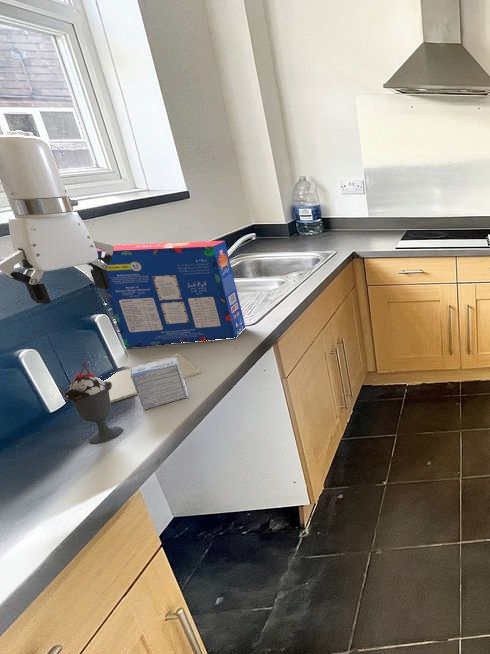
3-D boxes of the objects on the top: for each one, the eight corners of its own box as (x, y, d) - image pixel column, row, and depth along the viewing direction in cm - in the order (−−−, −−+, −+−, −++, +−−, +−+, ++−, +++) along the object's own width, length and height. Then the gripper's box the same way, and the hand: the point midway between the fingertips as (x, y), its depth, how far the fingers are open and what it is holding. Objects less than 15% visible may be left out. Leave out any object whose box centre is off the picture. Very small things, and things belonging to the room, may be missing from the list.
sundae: (120, 421, 85) (95, 355, 80) (134, 431, 82) (109, 364, 77) (76, 438, 80) (47, 369, 75) (89, 450, 76) (59, 379, 71)
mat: (103, 405, 90) (102, 403, 90) (89, 382, 99) (88, 380, 99) (200, 373, 104) (199, 371, 103) (179, 355, 113) (179, 353, 113)
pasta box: (245, 328, 130) (224, 240, 121) (236, 339, 123) (213, 246, 114) (142, 337, 124) (111, 245, 115) (125, 348, 117) (91, 251, 108)
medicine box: (187, 389, 96) (176, 356, 93) (188, 397, 93) (177, 363, 90) (143, 402, 92) (130, 367, 89) (142, 411, 88) (130, 375, 85)
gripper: (84, 202, 85) (111, 282, 91) (-40, 212, 70) (2, 308, 75) (110, 203, 84) (136, 284, 89) (-11, 214, 68) (30, 311, 74)
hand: (75, 295), depth 82 cm, fingers open, 9 cm apart
